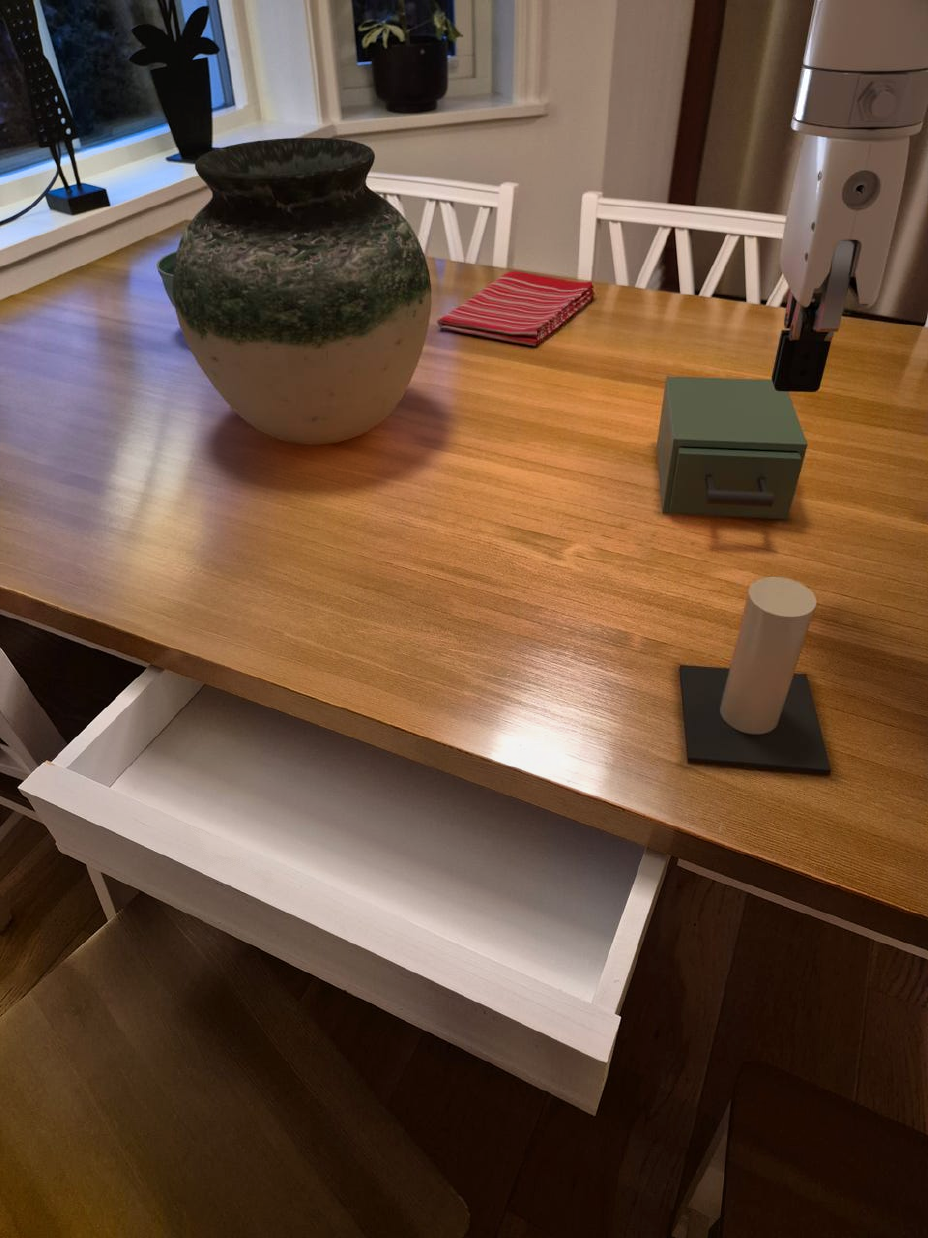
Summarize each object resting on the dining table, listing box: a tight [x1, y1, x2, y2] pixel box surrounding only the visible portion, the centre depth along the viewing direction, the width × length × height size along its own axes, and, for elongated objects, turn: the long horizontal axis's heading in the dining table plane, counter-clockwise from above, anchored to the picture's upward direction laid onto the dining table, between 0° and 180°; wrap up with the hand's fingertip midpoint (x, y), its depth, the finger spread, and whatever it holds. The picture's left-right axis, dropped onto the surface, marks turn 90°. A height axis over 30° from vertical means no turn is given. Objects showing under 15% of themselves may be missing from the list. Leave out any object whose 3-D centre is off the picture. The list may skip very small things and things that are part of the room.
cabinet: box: [656, 375, 809, 521], centre depth 89 cm, size 15×13×9 cm
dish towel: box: [436, 270, 596, 347], centre depth 131 cm, size 17×24×3 cm
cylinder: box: [720, 576, 817, 734], centre depth 60 cm, size 4×4×12 cm
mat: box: [678, 664, 832, 776], centre depth 64 cm, size 10×10×1 cm
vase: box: [173, 137, 432, 446], centre depth 94 cm, size 28×28×30 cm
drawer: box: [670, 446, 801, 518], centre depth 86 cm, size 18×11×7 cm, turn 172°
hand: (794, 386), depth 62 cm, fingers closed
